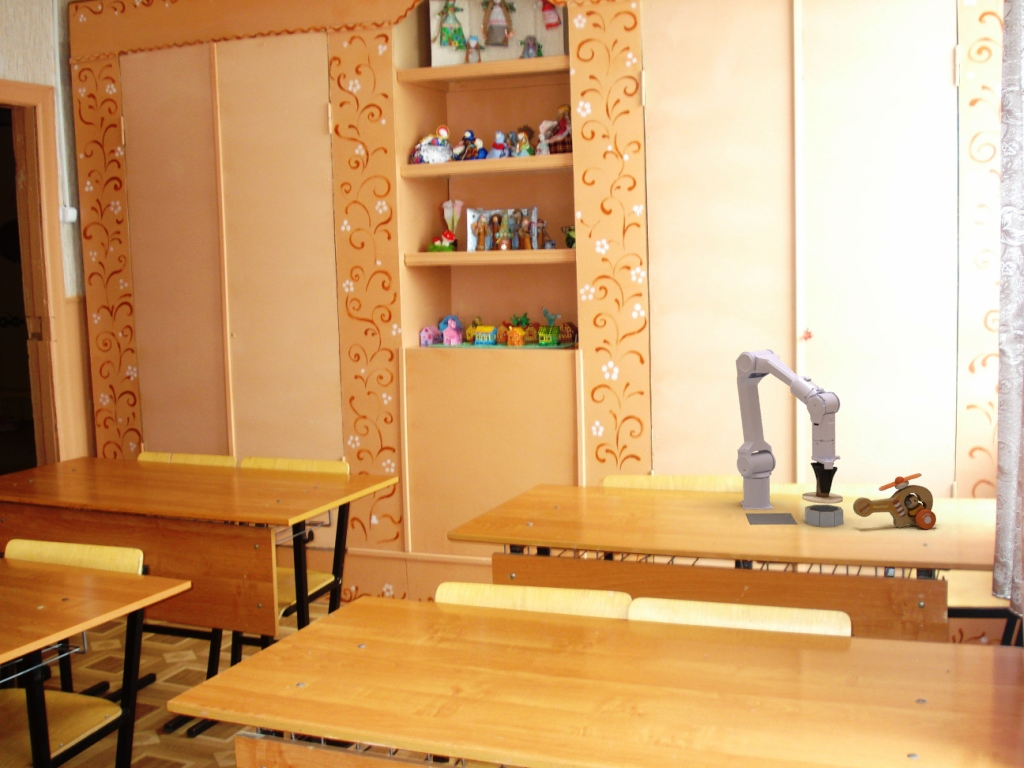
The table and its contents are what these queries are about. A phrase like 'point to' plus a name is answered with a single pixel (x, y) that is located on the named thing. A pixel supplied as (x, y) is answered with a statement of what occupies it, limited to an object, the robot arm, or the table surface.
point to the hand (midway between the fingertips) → (823, 491)
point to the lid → (822, 496)
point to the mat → (770, 518)
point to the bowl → (824, 515)
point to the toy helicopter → (902, 504)
